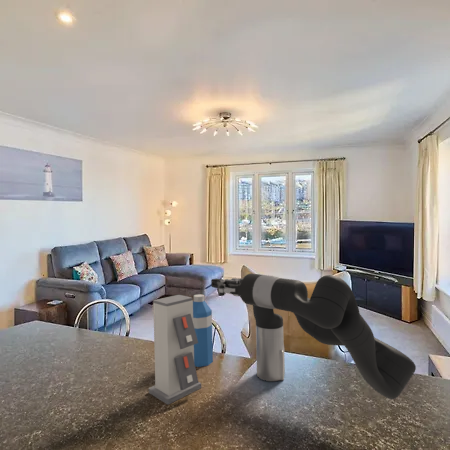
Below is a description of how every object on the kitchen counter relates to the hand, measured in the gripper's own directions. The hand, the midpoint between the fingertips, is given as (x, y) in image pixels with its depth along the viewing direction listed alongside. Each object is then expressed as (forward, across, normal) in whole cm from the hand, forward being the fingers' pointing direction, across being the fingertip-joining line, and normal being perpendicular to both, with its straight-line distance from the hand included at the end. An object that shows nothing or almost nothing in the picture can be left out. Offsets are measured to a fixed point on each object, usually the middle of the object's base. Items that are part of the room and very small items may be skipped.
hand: (213, 282), depth 91 cm
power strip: (+18, 0, -36) cm, 40 cm away
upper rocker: (+11, 0, -20) cm, 23 cm away
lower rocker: (+11, 0, -32) cm, 34 cm away
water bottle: (+29, +20, -36) cm, 50 cm away
